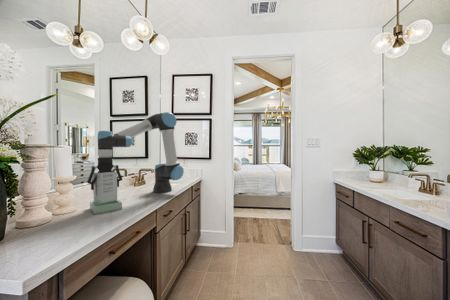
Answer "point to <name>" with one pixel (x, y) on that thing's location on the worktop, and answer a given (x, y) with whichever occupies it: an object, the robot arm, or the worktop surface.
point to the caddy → (105, 206)
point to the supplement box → (105, 187)
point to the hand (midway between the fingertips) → (105, 193)
